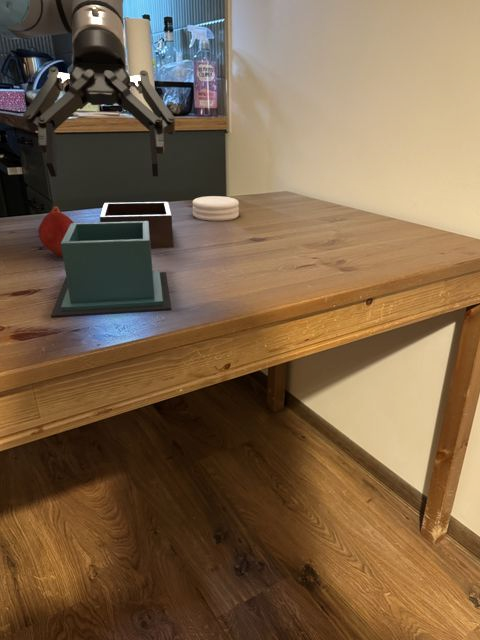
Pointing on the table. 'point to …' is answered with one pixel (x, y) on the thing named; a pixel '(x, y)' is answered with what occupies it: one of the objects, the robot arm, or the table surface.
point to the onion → (54, 230)
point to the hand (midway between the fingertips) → (104, 170)
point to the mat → (165, 307)
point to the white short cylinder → (215, 208)
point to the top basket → (109, 266)
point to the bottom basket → (144, 219)
